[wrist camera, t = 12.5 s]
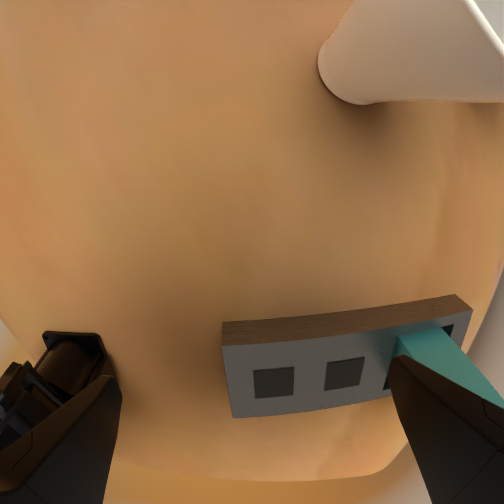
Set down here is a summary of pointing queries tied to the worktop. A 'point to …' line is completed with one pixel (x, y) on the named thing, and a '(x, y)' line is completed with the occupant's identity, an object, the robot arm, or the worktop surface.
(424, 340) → the teal peg
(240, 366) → the grey peg board
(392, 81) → the drinking glass
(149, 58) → the worktop surface
